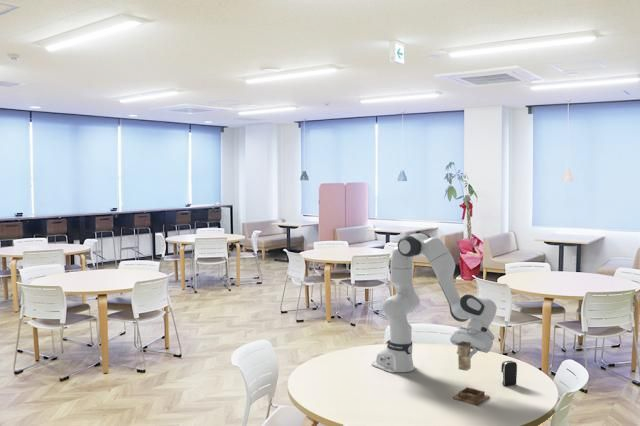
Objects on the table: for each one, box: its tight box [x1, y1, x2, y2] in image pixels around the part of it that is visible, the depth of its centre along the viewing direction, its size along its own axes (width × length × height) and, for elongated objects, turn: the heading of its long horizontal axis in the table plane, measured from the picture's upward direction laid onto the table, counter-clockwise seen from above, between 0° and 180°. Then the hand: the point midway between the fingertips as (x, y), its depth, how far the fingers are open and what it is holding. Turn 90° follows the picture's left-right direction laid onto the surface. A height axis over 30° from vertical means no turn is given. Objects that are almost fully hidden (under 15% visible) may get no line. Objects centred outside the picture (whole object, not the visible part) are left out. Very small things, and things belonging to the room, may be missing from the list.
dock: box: [452, 386, 491, 407], centre depth 259 cm, size 12×12×3 cm
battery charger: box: [500, 360, 518, 387], centre depth 275 cm, size 7×4×11 cm, turn 110°
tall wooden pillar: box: [457, 341, 472, 371], centre depth 262 cm, size 4×4×12 cm
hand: (463, 355), depth 262 cm, fingers closed on tall wooden pillar, 4 cm apart
